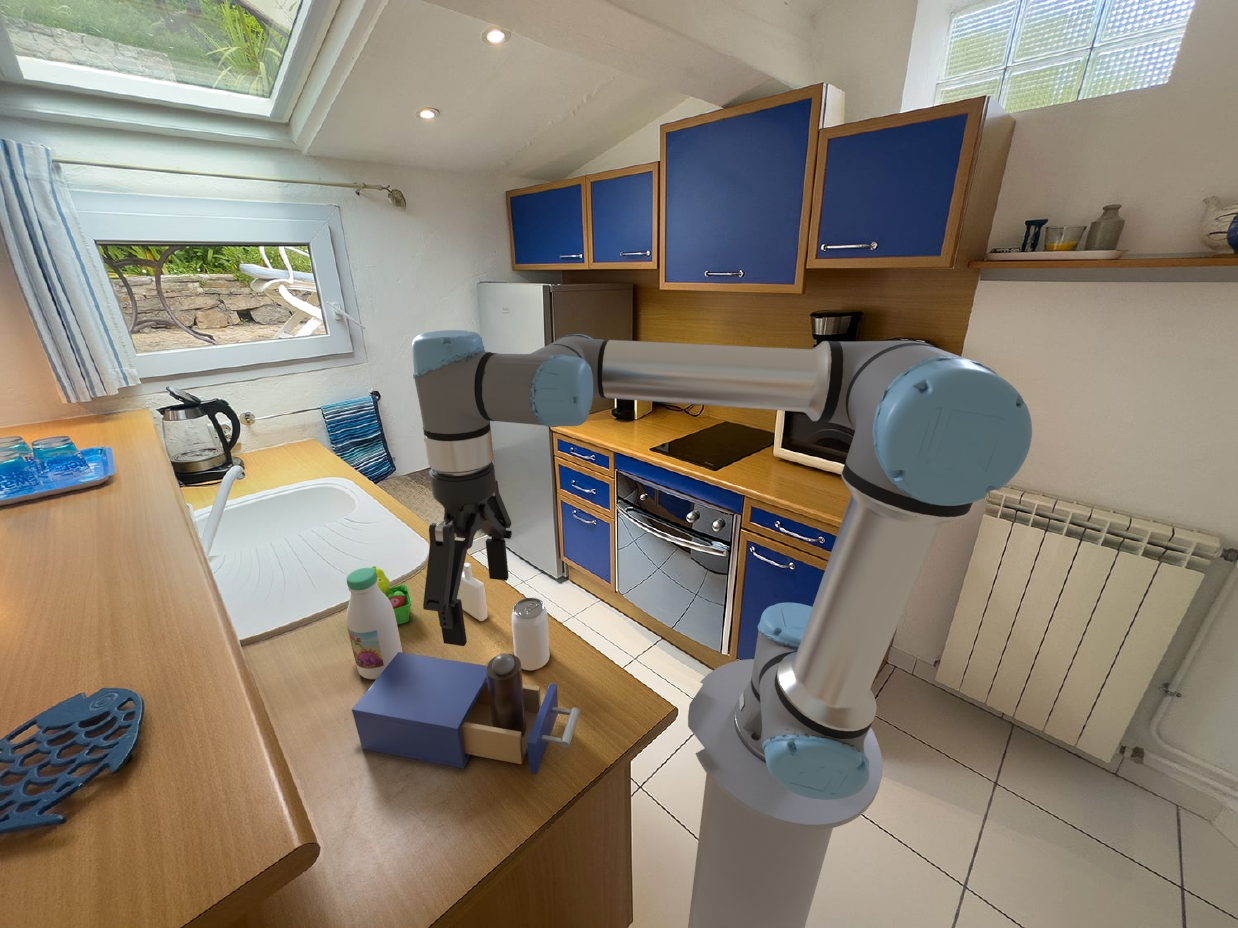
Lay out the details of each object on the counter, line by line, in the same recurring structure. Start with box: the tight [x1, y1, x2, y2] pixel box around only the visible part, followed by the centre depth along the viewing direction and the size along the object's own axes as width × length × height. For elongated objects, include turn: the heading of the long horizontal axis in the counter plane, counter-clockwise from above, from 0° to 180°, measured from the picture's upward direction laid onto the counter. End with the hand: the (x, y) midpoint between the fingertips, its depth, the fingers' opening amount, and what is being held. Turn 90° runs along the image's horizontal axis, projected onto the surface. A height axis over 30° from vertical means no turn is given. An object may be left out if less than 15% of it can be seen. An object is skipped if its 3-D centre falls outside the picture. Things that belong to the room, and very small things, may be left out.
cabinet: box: [351, 651, 487, 769], centre depth 78 cm, size 17×12×8 cm
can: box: [511, 597, 550, 672], centre depth 91 cm, size 6×6×12 cm
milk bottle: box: [345, 567, 404, 680], centre depth 87 cm, size 8×8×20 cm
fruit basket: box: [347, 565, 412, 626], centre depth 100 cm, size 11×9×11 cm
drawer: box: [461, 681, 581, 775], centre depth 76 cm, size 20×11×6 cm, turn 80°
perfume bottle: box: [457, 562, 489, 622], centre depth 103 cm, size 8×2×12 cm, turn 52°
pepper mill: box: [485, 652, 526, 737], centre depth 74 cm, size 5×5×15 cm
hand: (479, 607), depth 67 cm, fingers open, 13 cm apart
